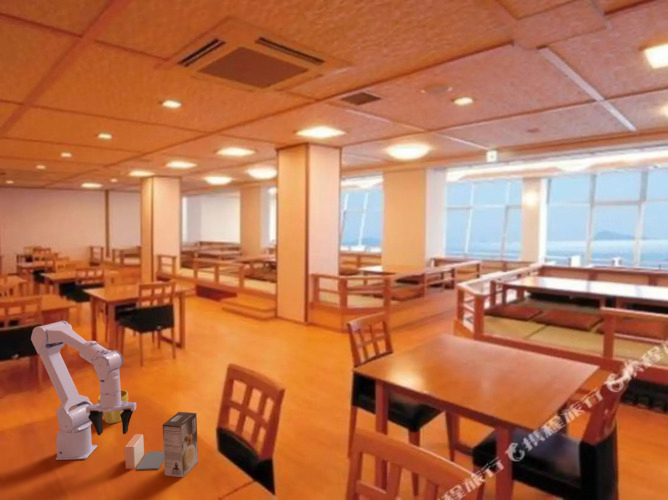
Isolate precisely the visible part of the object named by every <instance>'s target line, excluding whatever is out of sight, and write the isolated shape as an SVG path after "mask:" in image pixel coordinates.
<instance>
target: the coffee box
mask: <svg viewBox="0 0 668 500" xmlns="http://www.w3.org/2000/svg"><path fill="white" fill-rule="evenodd" d="M197 422H198V421H197V412H189V411H188V412H186V411H185V412H184V411H183V412H182V411H178V412H177V413H175V414H174V415H173V416H172V417H170V418H169V419H168V420H167V421H165V422H164V423H162V440H163V441H162V442H163V443H162V444H163V451H164V461H163V464H164V466H163V467H164V476H166V477H167V476H168V477H176V478H184V477H185V476H186V475H187V474H188V473H189V472H190V471H191V470H192V469H193V467H194V466H195V465H196V464H197V463H199V450H198V424H197Z"/></svg>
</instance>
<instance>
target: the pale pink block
mask: <svg viewBox="0 0 668 500" xmlns="http://www.w3.org/2000/svg"><path fill="white" fill-rule="evenodd" d="M144 440H145V439H144V435H143V433H137V434H136V433H135V434H134V435H133V436H132V438H131V439H130V440H129V441H128V443H127V444H126V445H125V447H124V451H125V452H124V455H125V459H124V460H125V469H126V470H127V469H128V470H130V469H131V470H132V469H136V468H137V466H138V465H139V463H140V462H141V461H142V459H143V458H144V456H145V446H144V445H145V444H144Z"/></svg>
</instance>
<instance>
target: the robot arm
mask: <svg viewBox="0 0 668 500" xmlns="http://www.w3.org/2000/svg"><path fill="white" fill-rule="evenodd" d="M30 340H31V342H32V345H33V346H34V347H33V348H35V352H36V353H37V355H39V357H40V359H41V361H42V364H43V366H44V368H45V370H46V372H47V374H48V377H49V379H50V382H51V383H52V385H53V388H54V389H55V392H56V394H57V396H58V398H59V401H60V403H61V404H60V405H59V407H58V409H57V410H56V412H55V415H56V416H57V423H58V427H59V430H58V432H57V435H56V440H55V441H56V442H55V443H56V457H55V461H62V460H63V461H65V460H67V461H68V460H86V459H88V458H89V457H90V456H91V454H92V453H93V452H94V451H95V449H97V447H98V444H92V441H93V440H92V427H91V426H92V424H93V426H94V429H95V430H96V434H97V436H101V435H102V434H103V432H104V423H103V419H104V417H103V412H110V411H122V410H123V412H122V413H121V414H120V416H121V420H122V421H121V425H122V435H126V434H127V433H128V431H129V425H130V421H131V418H132V415H133V413H134V411H135V410H136V409H137V402H135V401H133V402H131V401H128V402H123V401H121V390H122V388H121V375H120V374H121V373H120V369H121V368H122V366H123V364H124V357H123V355H122V354H121V352H120V351H118V350H115V349H114V350H110V349H107V348H105V347H104V346H102V345H100V344H99V343H98V342H97V341H96V340H89V341H87V340H86V339H85V338H83V337H82V336H81V335H79V334H78V333H76V331H74V330H73V327H72V324H70V323H68V321H65V320H60V321H57V322H53V323H47V324H45V325H41V326H36V327H34V328H33V329H32V333H31V336H30ZM65 345H67V346H69V347H71V348H73V349H75V350H77V351H78V353H79V356H80V357H81V358H82V359H83V360H85V361H87V362H88V363H90V364H92V365H93V368H94V369H93V370H94V371H95V372H96V377H97V378H98V380H99V396H100V398H101V403H98V402H97V403H94V404H93V403H92V402H91V401H90V398H89V397H88V396H85V395H81V394H79V392H78V389H77V387H76V385H75V382H74V381H73V378H72V376H71V373H70V372H69V370H68V368H67V366H66V363H65V361H64V358H63V357H62V355H61V353H60V352H61V349H62V348H64V346H65Z"/></svg>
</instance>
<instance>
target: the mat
mask: <svg viewBox="0 0 668 500" xmlns="http://www.w3.org/2000/svg"><path fill="white" fill-rule="evenodd" d="M162 464H164V450H159V451H158V450H155V451H147V452H146V453H145V454H144V455H143V457H142V458H141V460H140V461H139V463H138V464H137V466H136V467H135V470H136V471H145V470H146V471H150V470H153V471H154V470H159V469H160V468H161V467H162Z"/></svg>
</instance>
